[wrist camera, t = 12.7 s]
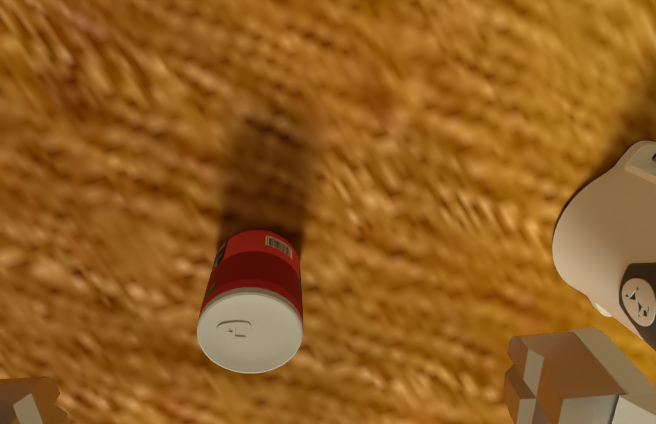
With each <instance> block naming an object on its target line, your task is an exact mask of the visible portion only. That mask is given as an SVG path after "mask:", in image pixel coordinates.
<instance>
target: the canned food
mask: <svg viewBox="0 0 656 424" xmlns="http://www.w3.org/2000/svg"><path fill="white" fill-rule="evenodd" d="M302 335H303V309H302V292H301V274H300V262H299V257H298V255H297V253H296V251H295V250H294V248H293V247H292V245H291V244H290V243H289V242H288V241H287V240H286V239H285V238H284V237H282V236H280V235H279V234H277V233H274V232H272V231H268V230H263V229H251V230H245V231H242V232H239V233H237V234H235V235H234V236H232V237H231V238H230V239H228V240H227V241H226V242H225V243H224V244H223V245H222V246H221V247H220V249H219V251H218V253H217V255H216V258H215V261H214V265H213V268H212V272H211V275H210V279H209V282H208V286H207V289H206V293H205V296H204V300H203V303H202V307H201V311H200V315H199V320H198V324H197V338H198V341H199V344H200V347H201V348H202V350H203V352H204V353H205V354H206V355H207V356H208V357H209V359H211V360H212V361H213V362H215V363H216V364H217V365H219V366H221V367H223V368H225V369H228V370H231V371H235V372H241V373H260V372H266V371H269V370H273V369H275V368H277V367H279V366H281V365H283V364H285V363H286V362H287V361H289V360H290V359H291V358H292V357H293V356H294V355H295V354H296V352H297V350H298V349H299V347H300V344H301V341H302Z"/></svg>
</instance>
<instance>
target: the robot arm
mask: <svg viewBox="0 0 656 424" xmlns="http://www.w3.org/2000/svg"><path fill="white" fill-rule="evenodd" d="M654 154H656V142H653V141H639V142H637V143H635V144H634V145H632V146H631V147H630V148H629V149H628V150H627V151H626V152H625V153H624V155H623V156H622V157H621V158H620V159H619V161H618V162H617V163H616V165H615V166H614V167H613V168H611V169H610V170H609V171H608V172H606V173H605V174H603V175H602V176H600V177H598V178H597V179H595V180H594V181H592V182H591V183H590V184H588V185H587V186H586V187H585V188H584V189H582V190H581V191H580V192H579V193H578V194H577V195H576V196H575V197H574V199H573V200H572V201H571V202H570V203H569V205H568V206H567V207H566V209H565V210H564V212H563V214H562V216H561V218H560V219H559V222H558V224H557V227H556V229H555V233H554V237H553V244H552V254H553V260H554V264H555V267H556V269H557V271H558V273H559V274H560V276H561V277H562V278H563V280H564V281H565V282H566V283H568V284H569V285H570V286H572V287H573V288H575V289H577V290H578V291H580V292H582V293H583V294H585V295H586V296H588V298H589V300H590V301H591V303H592V305H593V306H594V307H595V309H596V310H598V311H599V312H600V313H601V314H603V315H604V316H607V317H611V316H613V317H614V318H616V319H617V320H618V321H619V322H621V323H622V324H623V325H625V326H626V327H627V328H628V329H630V330H631V331H632V332H634V333H635V334H636V335H638V336H639V337H640V338H642V339H643V340H644V341H645V342H646V343H648V344H649V345H650V346H651V347H652V348H653V349H654V350H655V351H656V156H655V157H654V158H653V159H652V157H653V156H654ZM508 355H509V357H510V358H511V360H512V362H513V363H514V364H513V365H512V366H511V367H510V368H509V369H508V371H507V372H506V373H505V379H504V393H505V400H506V405H507V407H508V410H509V413H510V416H511V418H512V420H513V421H514V423H515V424H656V387H655V386H654V385H653V384H652V383H651V382H650V381H649V380H648V379H647V378H646V377H645V376H644V375H643V373H642V372H641V371H640V370H639V369H638V368H637V367H636V366H635V365H634V364H633V363H632V362H631V361H630V360H629V359H628V358H627V357H626V356H625V355H624V354H623V353H622V352H621V351H620V350H619V348H618V347H617V346H616V345H615V344H614V343H613V342H612V341H611V340H610V339H609V338H608V337H607V336H606V335H605V334H604V333H603V332H602V331H601V330H599V329H596V328H585V329H576V330H567V331H563V332H552V333H541V334H530V335H520V336H513V337H512V339H511V341H510V343H509V349H508ZM59 395H60V392H59V390H58V388H57V385H56V383H55V380H54V379H52V378H49V377H30V378H15V379H0V424H70V421H69V418H68V415H67V413H66V412H65V411H63V410H62V409H61V408H59V407H58V406H56V405H55V402H56V400H57V398H58V396H59Z"/></svg>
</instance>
